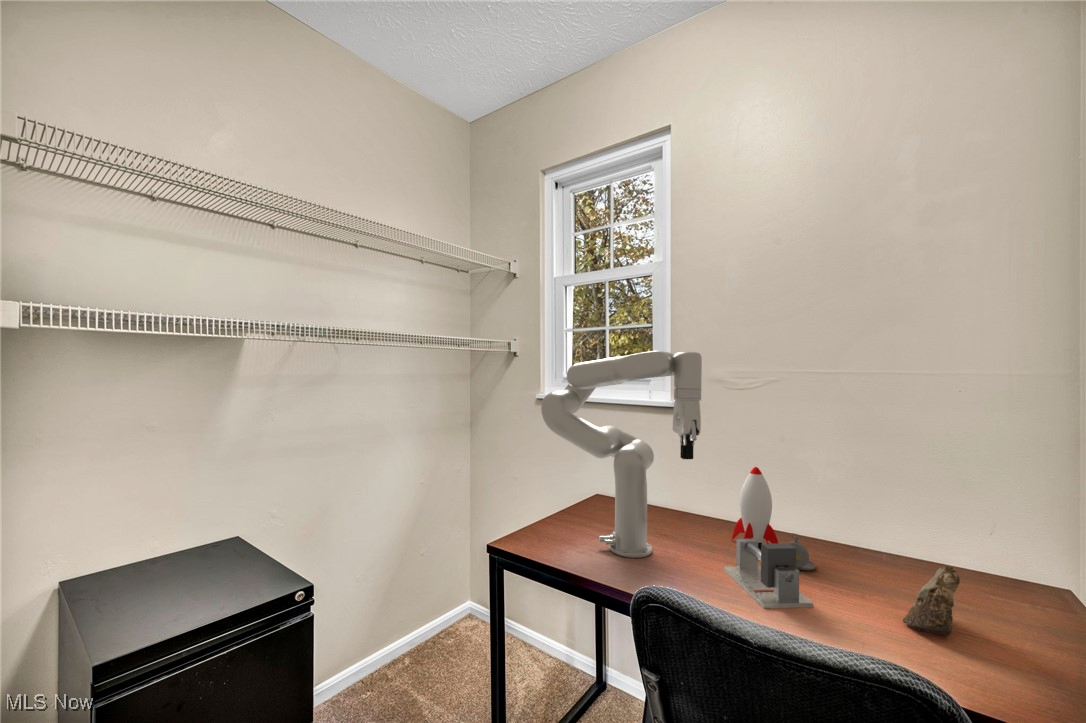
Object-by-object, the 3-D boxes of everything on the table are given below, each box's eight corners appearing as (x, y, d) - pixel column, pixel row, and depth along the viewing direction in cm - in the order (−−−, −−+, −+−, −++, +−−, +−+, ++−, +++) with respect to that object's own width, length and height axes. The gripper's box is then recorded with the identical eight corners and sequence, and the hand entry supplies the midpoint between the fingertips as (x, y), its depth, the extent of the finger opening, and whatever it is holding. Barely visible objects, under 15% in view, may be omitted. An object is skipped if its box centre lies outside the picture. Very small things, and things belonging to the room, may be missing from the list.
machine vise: (763, 608, 108) (764, 571, 108) (723, 570, 128) (724, 539, 128) (813, 607, 108) (813, 570, 109) (766, 569, 128) (766, 538, 128)
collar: (767, 587, 111) (767, 548, 111) (760, 581, 114) (761, 543, 114) (796, 587, 111) (796, 548, 111) (788, 581, 114) (788, 543, 114)
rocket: (767, 542, 148) (768, 463, 149) (781, 556, 138) (781, 471, 138) (731, 540, 150) (731, 462, 150) (742, 554, 139) (742, 470, 139)
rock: (899, 569, 112) (919, 548, 101) (940, 582, 109) (964, 563, 98) (894, 632, 105) (914, 617, 94) (937, 648, 102) (963, 635, 91)
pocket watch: (812, 563, 133) (812, 528, 133) (819, 576, 125) (819, 538, 125) (780, 559, 135) (780, 524, 136) (785, 571, 127) (785, 534, 128)
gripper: (666, 393, 142) (665, 453, 141) (684, 396, 127) (683, 464, 126) (690, 393, 142) (689, 453, 142) (711, 396, 127) (710, 464, 127)
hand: (686, 458), depth 134 cm, fingers closed
